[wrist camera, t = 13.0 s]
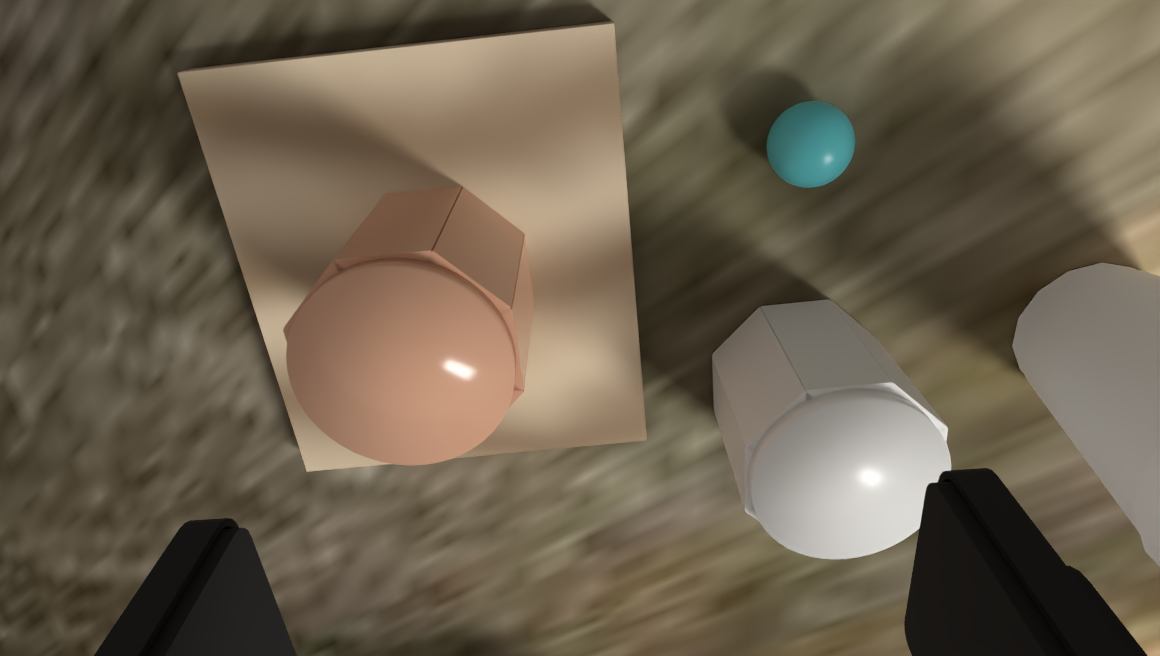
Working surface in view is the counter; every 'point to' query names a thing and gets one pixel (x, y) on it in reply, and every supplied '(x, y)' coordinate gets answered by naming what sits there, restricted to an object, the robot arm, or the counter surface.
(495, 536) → the counter surface
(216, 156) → the oak board
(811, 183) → the marble
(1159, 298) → the foam cup
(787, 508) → the white domed cap nut
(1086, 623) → the robot arm
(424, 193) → the pink acorn nut
